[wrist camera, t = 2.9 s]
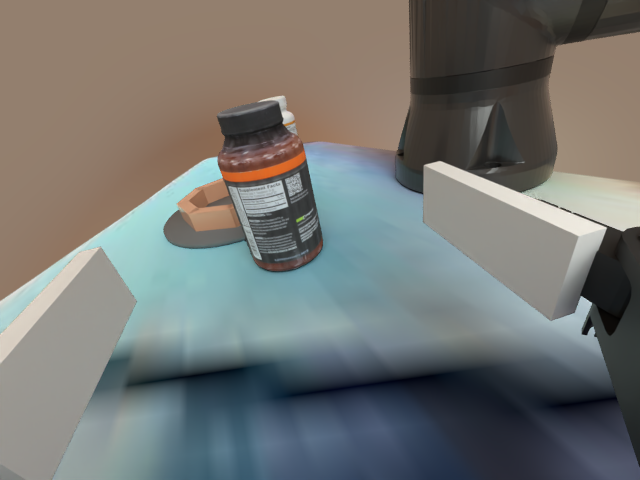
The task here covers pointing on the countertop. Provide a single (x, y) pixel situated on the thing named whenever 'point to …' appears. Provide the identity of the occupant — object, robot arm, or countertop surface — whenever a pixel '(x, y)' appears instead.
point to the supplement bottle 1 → (285, 114)
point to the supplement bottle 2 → (269, 186)
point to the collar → (208, 208)
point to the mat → (189, 238)
